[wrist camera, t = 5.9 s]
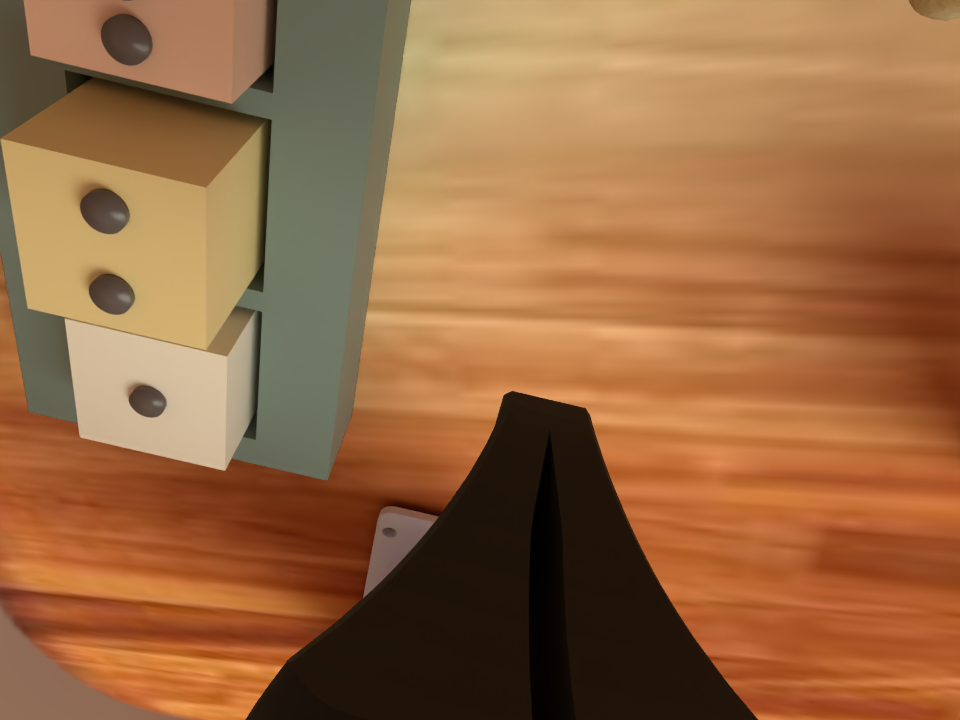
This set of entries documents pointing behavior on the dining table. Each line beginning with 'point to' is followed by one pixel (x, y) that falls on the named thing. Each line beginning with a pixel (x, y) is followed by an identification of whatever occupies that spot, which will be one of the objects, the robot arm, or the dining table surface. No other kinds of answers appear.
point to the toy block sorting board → (290, 217)
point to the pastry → (937, 8)
